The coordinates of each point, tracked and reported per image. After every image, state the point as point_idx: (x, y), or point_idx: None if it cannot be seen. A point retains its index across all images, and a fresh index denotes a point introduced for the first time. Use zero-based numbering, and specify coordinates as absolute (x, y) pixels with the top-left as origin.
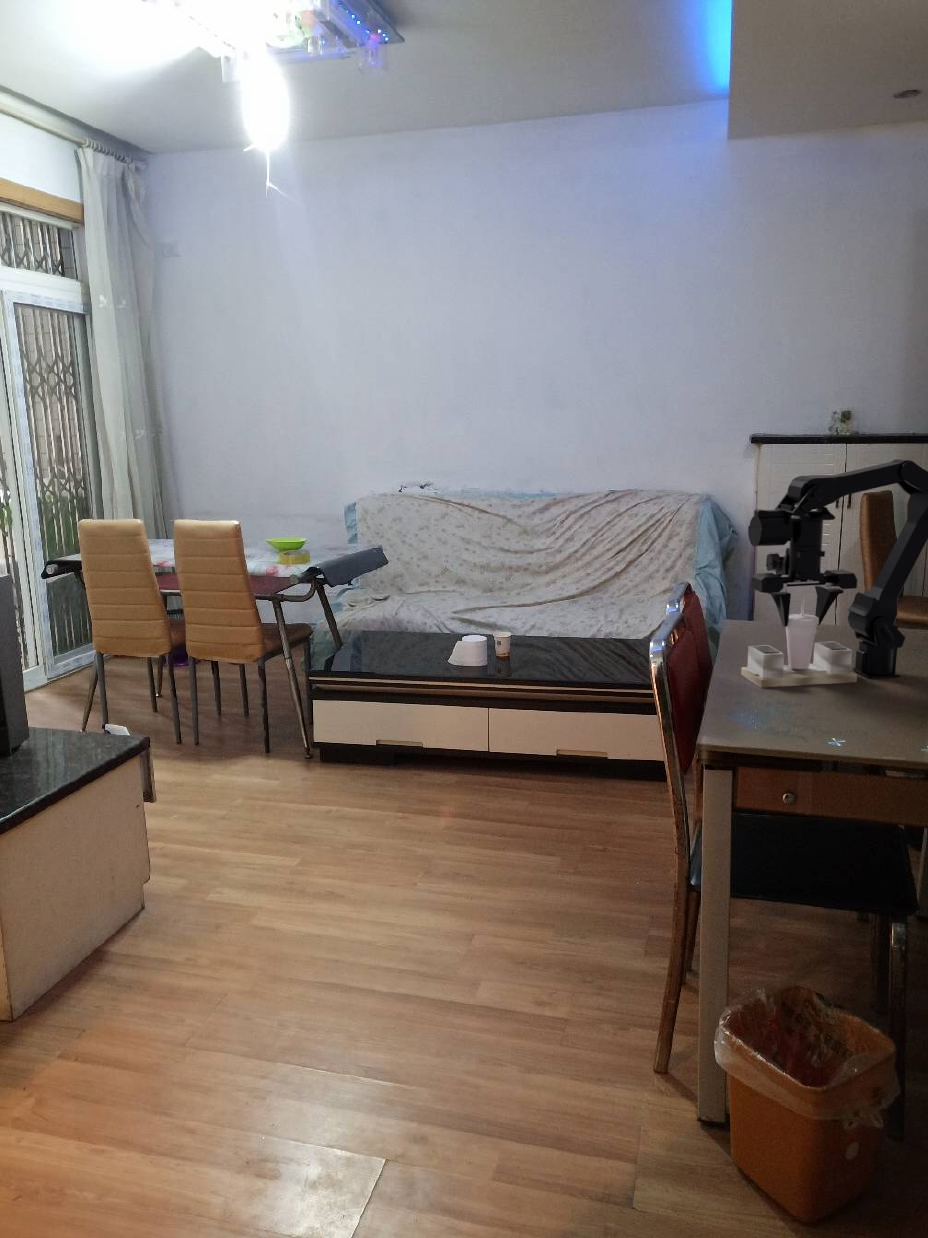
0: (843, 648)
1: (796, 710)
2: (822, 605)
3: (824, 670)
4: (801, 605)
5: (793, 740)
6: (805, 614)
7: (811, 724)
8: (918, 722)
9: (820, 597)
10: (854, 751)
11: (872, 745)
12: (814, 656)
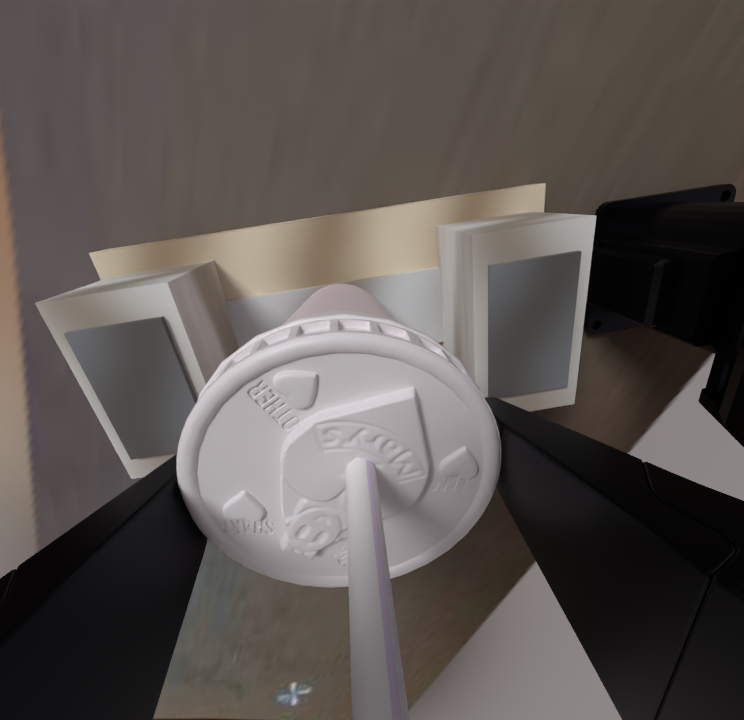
0: (548, 390)
1: (258, 577)
2: (587, 624)
3: (437, 341)
4: (349, 577)
5: (218, 696)
6: (415, 418)
7: (271, 639)
8: (487, 616)
9: (698, 681)
10: (311, 716)
11: (349, 698)
12: (447, 238)
